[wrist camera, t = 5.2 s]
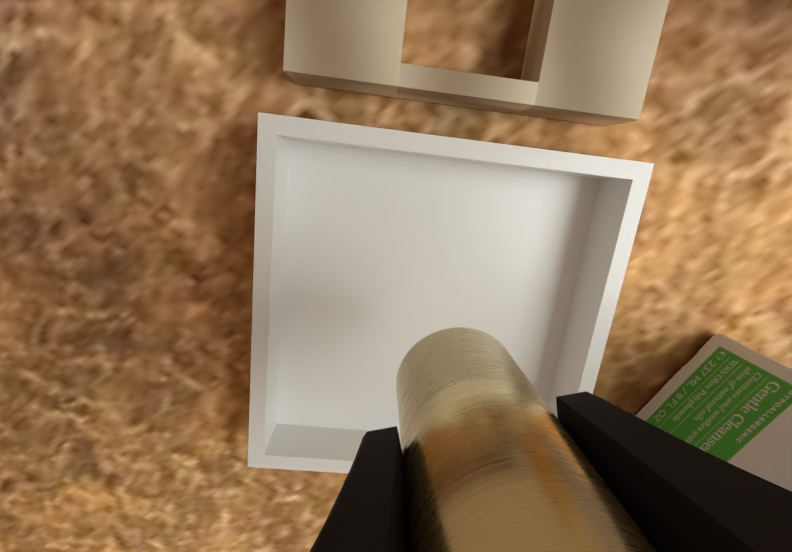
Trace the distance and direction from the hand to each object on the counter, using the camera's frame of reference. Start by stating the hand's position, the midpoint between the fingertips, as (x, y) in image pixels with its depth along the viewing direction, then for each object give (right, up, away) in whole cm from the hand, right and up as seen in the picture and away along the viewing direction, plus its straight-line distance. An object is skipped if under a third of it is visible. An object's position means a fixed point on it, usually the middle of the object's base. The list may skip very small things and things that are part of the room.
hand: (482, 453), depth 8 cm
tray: (0, +2, +9) cm, 9 cm away
